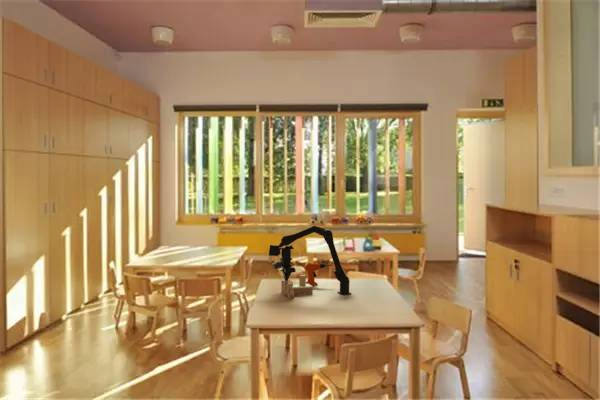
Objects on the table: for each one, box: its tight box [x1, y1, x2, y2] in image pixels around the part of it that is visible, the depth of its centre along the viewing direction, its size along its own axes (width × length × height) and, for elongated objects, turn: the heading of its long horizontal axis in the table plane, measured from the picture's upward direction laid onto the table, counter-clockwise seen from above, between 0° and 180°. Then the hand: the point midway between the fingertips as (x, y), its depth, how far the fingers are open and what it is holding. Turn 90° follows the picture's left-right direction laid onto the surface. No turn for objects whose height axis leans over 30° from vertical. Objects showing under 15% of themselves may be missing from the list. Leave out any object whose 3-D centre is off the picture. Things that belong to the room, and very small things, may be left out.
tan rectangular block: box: [286, 279, 294, 287], centre depth 295 cm, size 4×3×3 cm
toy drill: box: [304, 262, 333, 287], centre depth 324 cm, size 5×19×15 cm, turn 86°
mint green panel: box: [292, 274, 313, 289], centre depth 298 cm, size 8×14×8 cm, turn 109°
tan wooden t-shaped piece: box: [281, 280, 314, 300], centre depth 295 cm, size 18×16×7 cm
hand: (286, 282), depth 302 cm, fingers closed
